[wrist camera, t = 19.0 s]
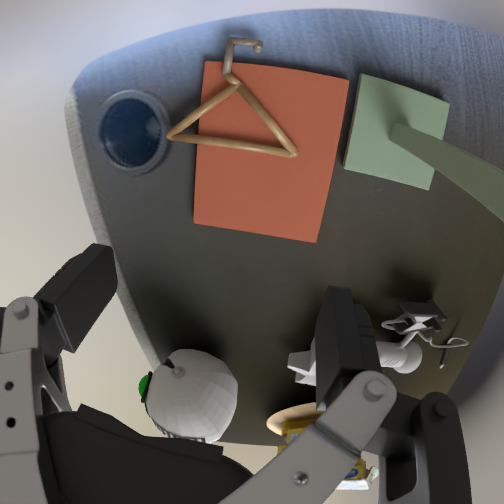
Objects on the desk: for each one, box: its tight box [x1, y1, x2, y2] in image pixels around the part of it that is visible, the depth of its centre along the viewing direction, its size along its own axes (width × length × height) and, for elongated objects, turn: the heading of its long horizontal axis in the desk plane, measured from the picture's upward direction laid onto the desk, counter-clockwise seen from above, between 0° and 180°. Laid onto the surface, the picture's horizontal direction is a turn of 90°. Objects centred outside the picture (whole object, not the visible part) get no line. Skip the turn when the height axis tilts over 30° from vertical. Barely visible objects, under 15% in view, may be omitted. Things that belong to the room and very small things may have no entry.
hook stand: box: [342, 74, 504, 222], centre depth 17 cm, size 10×19×22 cm, turn 83°
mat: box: [193, 61, 349, 243], centre depth 29 cm, size 18×14×1 cm
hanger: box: [166, 37, 299, 158], centre depth 26 cm, size 14×1×11 cm
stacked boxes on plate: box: [267, 402, 379, 490], centre depth 46 cm, size 25×25×17 cm
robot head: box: [139, 349, 238, 444], centre depth 39 cm, size 16×14×20 cm
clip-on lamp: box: [376, 300, 469, 373], centre depth 37 cm, size 12×6×18 cm
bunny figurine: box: [288, 337, 316, 386], centre depth 41 cm, size 10×5×15 cm
